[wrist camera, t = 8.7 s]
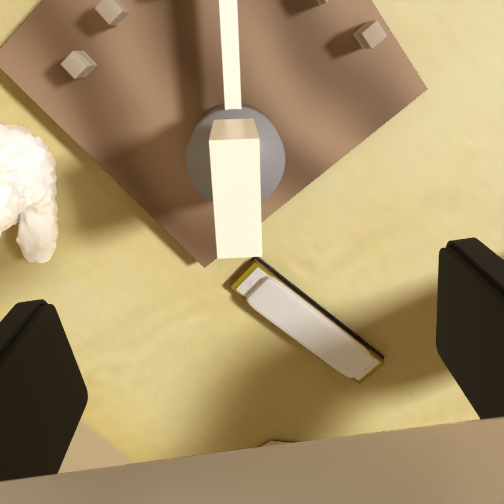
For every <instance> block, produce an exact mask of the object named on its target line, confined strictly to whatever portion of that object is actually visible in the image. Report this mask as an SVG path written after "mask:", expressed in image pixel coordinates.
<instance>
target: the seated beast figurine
mask: <svg viewBox="0 0 504 504" xmlns="http://www.w3.org/2000/svg"><path fill="white" fill-rule="evenodd" d="M55 165H56V162H55V159H54V158H53V156H52V155H51V153H50V151H49V150H48V148H47V147H46V144H45V141H43V140H42V139H41V138H40V137H38V136H37V135H34V134H32V133H31V132H30V131H29V130H28V128H27V127H25V126H20V125H19V124H18V123H17V124H5V123H2V122H0V237H1V232H3V231H5V230H7V229H9V228H10V227H11V226H12V225H17V223H18V222H19V225H18V237H17V239H16V242H17V243H18V244H19V245H20V249H21V250H22V255H23V256H24V258H25V259H26V260H27V261H28V262H35V261H37V262H38V263H45V262H47V261H49V260H50V259H51V257H52V255H53V253H54V250H55V248H56V246H57V245H56V239H57V237H58V235H59V234H58V226H57V224H56V223H57V221H58V217H57V212H58V205H57V203H56V200H55V197H56V195H57V189H56V187H57V185H56V181H57V175H56V174H55V172H56V168H55Z"/></svg>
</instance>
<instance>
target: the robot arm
mask: <svg viewBox="0 0 504 504" xmlns="http://www.w3.org/2000/svg"><path fill="white" fill-rule="evenodd" d="M436 346H437V350H438V353H439V355H440V357H441V359H442V360H443V362H444V363H445V365H446V366H447V368H448V370H449V371H450V373H451V374H452V376H453V377H454V379H455V380H456V382H457V383H458V385H459V386H460V388H461V390H462V391H463V393H464V394H465V396H466V397H467V399H468V400H469V402H470V403H471V405H472V406H473V408H474V410H475V411H476V413H477V414H478V416H479V417H480V420H471V421H463V422H455V423H447V424H439V425H431V426H423V427H415V428H407V429H398V430H390V431H382V432H374V433H366V434H358V435H350V436H342V437H334V438H326V439H319V440H311V441H303V442H295V443H287V444H279V445H271V446H264V447H256V448H248V449H240V450H232V451H225V452H217V453H209V454H202V455H194V456H187V457H179V458H171V459H164V460H156V461H149V462H141V463H133V464H126V465H118V466H110V467H103V468H95V469H88V470H81V471H74V472H67V473H59V474H57V473H58V471H59V469H60V466H61V464H62V461H63V459H64V457H65V454H66V452H67V449H68V447H69V445H70V442H71V440H72V437H73V435H74V433H75V431H76V428H77V426H78V423H79V421H80V419H81V416H82V414H83V412H84V409H85V407H86V404H87V400H88V393H87V388H86V386H85V383H84V380H83V378H82V375H81V373H80V370H79V367H78V365H77V362H76V360H75V357H74V355H73V352H72V349H71V347H70V344H69V342H68V339H67V336H66V334H65V331H64V329H63V326H62V324H61V321H60V318H59V316H58V313H57V311H56V308H55V307H54V306H53V305H52V304H48V303H47V302H46V301H45V300H43V299H41V300H34V301H27V302H20V303H17V304H16V305H15V306H14V307H13V308H12V309H11V310H10V311H9V313H8V314H7V315H6V316H5V317H4V318H3V320H2V321H1V322H0V504H504V260H503V259H501V258H500V257H499V256H498V255H497V254H495V253H494V252H493V251H492V250H490V249H489V248H488V247H487V246H485V245H484V244H483V243H482V242H480V241H479V240H478V239H476V238H467V239H460V240H453V241H449V242H448V243H447V245H446V248H441V249H440V252H439V268H438V298H437V327H436Z"/></svg>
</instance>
